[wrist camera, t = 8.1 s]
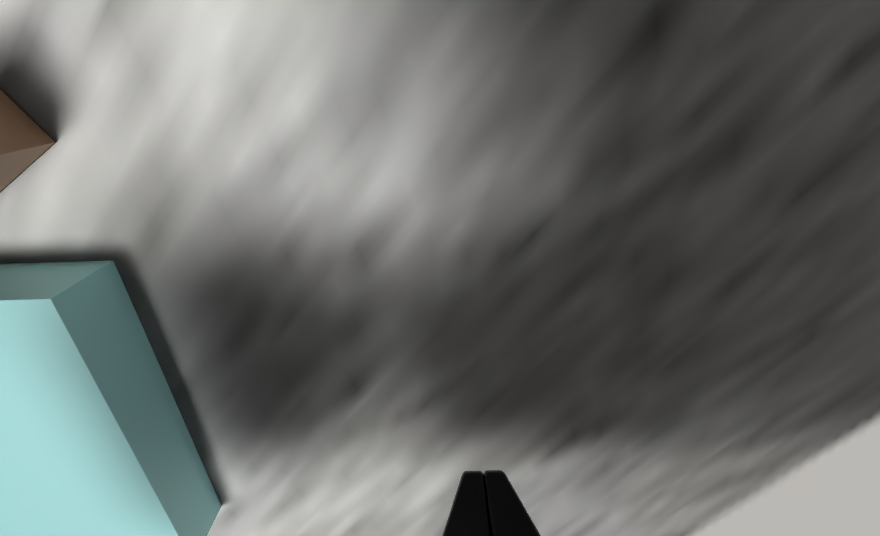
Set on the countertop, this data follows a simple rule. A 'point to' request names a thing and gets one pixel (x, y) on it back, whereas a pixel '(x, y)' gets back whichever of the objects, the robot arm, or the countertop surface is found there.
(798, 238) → the countertop surface
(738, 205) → the countertop surface
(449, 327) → the countertop surface
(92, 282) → the panel
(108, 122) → the countertop surface
